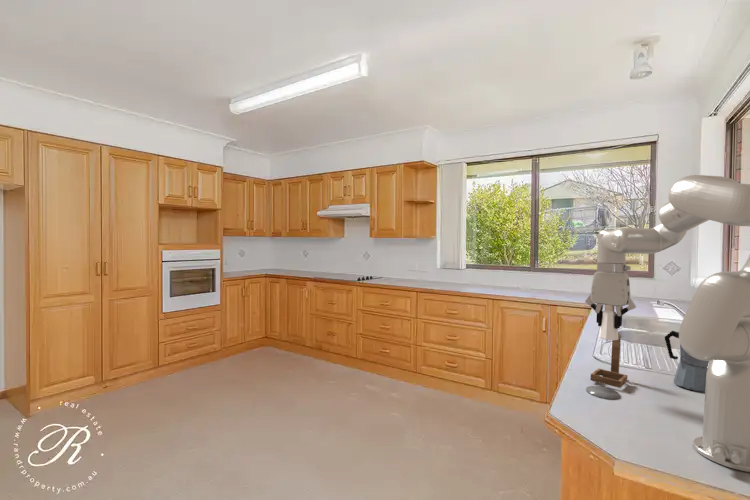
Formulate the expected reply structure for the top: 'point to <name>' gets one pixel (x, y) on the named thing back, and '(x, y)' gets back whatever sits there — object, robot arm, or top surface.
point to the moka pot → (688, 368)
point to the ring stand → (611, 376)
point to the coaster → (602, 392)
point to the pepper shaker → (608, 324)
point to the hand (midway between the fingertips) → (608, 326)
